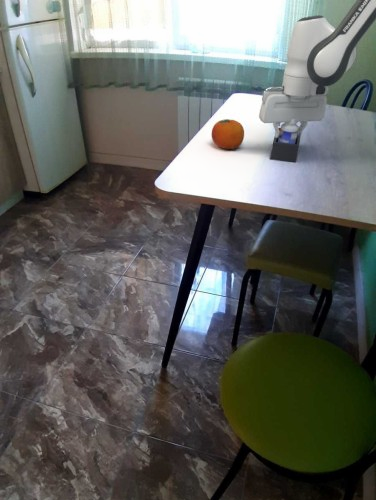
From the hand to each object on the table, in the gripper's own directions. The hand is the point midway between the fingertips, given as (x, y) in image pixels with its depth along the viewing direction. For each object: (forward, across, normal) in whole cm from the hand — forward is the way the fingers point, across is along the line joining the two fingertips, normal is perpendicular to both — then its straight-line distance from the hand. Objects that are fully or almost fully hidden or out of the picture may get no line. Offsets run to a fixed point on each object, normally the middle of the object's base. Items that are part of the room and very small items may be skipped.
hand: (287, 136), depth 128 cm
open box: (+6, +2, +3) cm, 7 cm away
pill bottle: (+4, 0, 0) cm, 4 cm away
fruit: (+6, -16, +11) cm, 20 cm away
